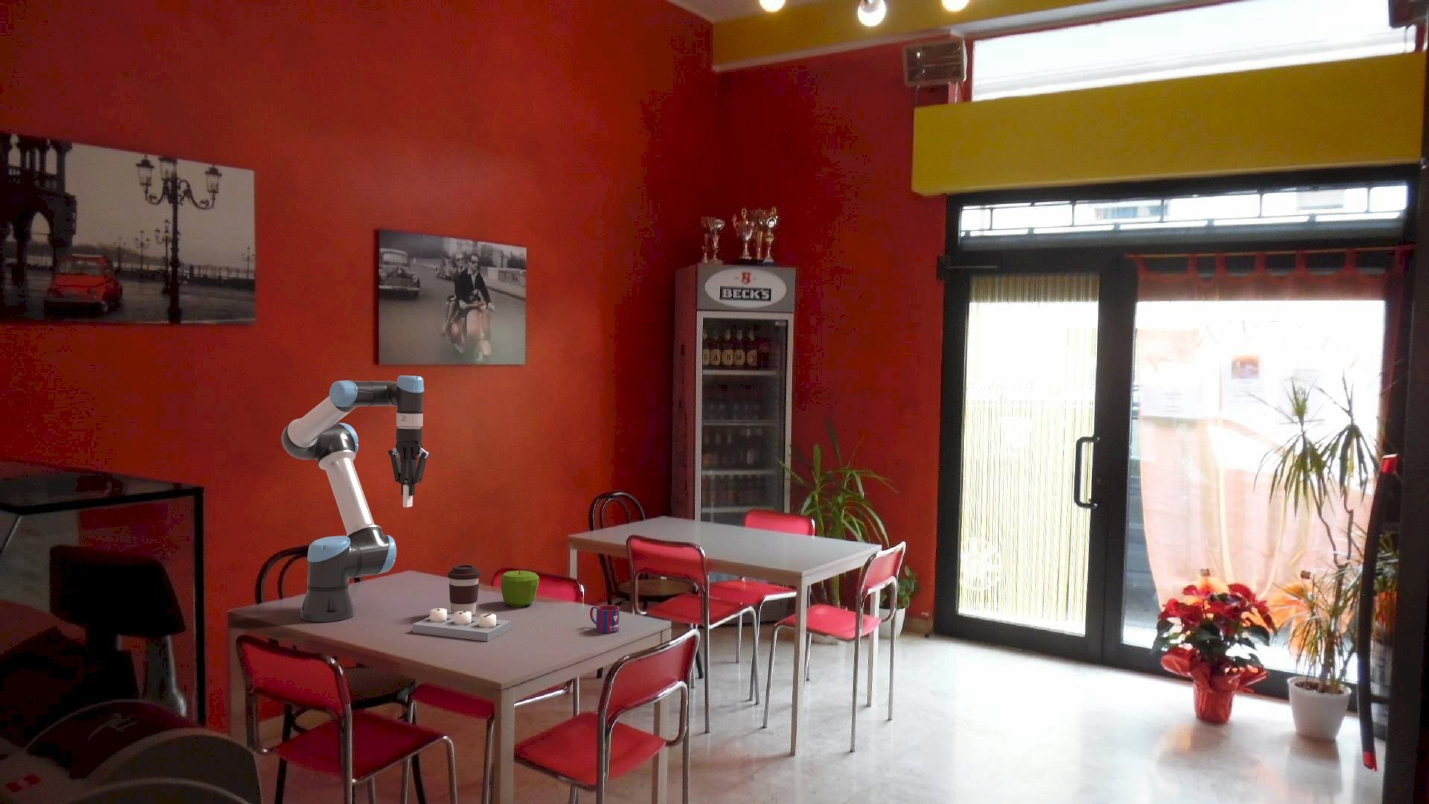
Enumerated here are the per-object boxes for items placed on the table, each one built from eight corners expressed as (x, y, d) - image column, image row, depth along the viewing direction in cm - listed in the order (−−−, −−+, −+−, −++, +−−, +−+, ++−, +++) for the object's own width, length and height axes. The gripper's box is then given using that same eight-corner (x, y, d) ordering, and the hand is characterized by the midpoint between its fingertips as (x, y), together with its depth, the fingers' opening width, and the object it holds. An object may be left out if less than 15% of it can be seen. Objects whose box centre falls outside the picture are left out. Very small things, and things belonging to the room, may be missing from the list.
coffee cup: (486, 614, 303) (487, 566, 303) (462, 620, 295) (463, 571, 294) (463, 609, 308) (465, 562, 308) (439, 615, 300) (440, 566, 300)
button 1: (426, 626, 284) (426, 610, 284) (435, 622, 289) (435, 606, 289) (440, 628, 283) (441, 611, 283) (449, 624, 288) (450, 608, 287)
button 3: (475, 632, 280) (476, 615, 280) (483, 627, 285) (484, 611, 284) (490, 633, 279) (491, 617, 279) (498, 629, 283) (499, 613, 283)
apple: (544, 606, 315) (545, 571, 315) (508, 610, 308) (509, 575, 308) (528, 598, 326) (529, 564, 325) (493, 602, 319) (494, 567, 318)
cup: (606, 634, 285) (607, 611, 285) (583, 628, 291) (584, 605, 291) (623, 630, 290) (624, 607, 290) (600, 624, 296) (601, 601, 296)
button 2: (450, 629, 282) (451, 613, 282) (459, 625, 287) (459, 609, 287) (465, 630, 281) (466, 614, 281) (474, 626, 285) (474, 610, 285)
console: (412, 632, 280) (412, 624, 280) (438, 620, 294) (439, 612, 294) (487, 641, 274) (487, 632, 274) (511, 629, 287) (511, 620, 287)
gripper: (382, 427, 289) (381, 506, 289) (421, 429, 285) (419, 509, 286) (397, 425, 296) (395, 503, 297) (435, 428, 292) (433, 506, 293)
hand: (407, 506), depth 291 cm, fingers closed
